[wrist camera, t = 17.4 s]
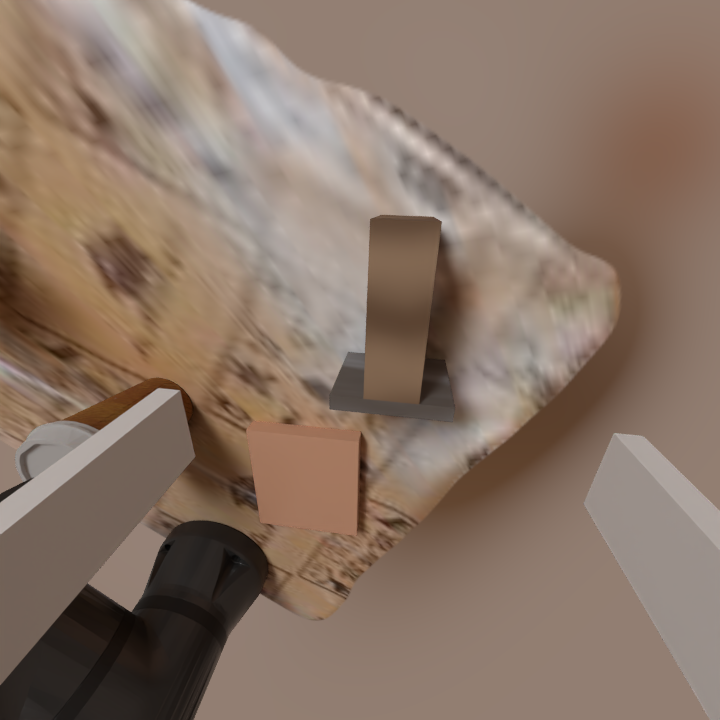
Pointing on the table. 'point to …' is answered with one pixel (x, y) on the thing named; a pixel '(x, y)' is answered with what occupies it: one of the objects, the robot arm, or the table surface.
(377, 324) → the tan flared wedge
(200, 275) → the table surface
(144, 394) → the disposable coffee cup
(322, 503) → the tile
